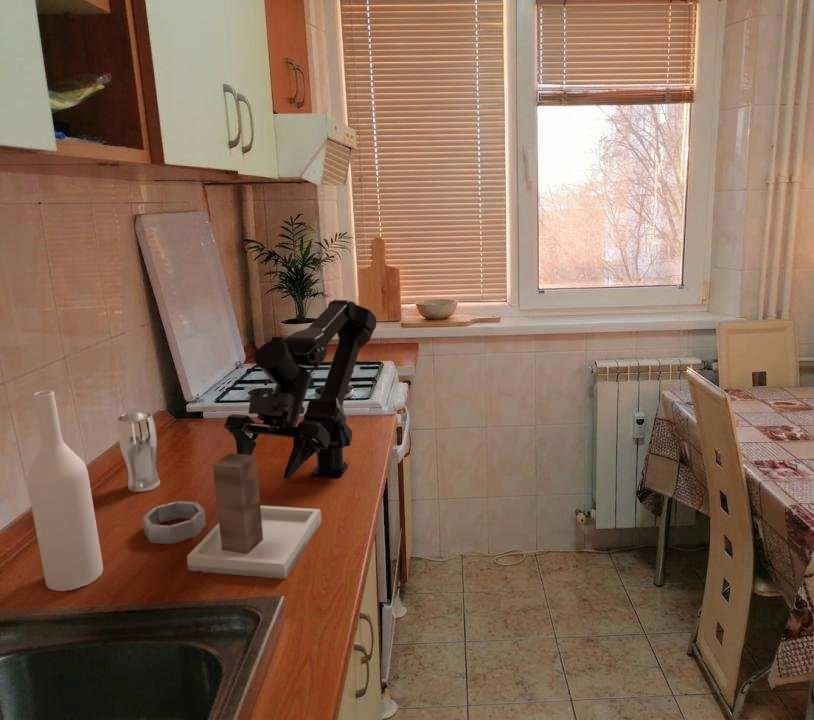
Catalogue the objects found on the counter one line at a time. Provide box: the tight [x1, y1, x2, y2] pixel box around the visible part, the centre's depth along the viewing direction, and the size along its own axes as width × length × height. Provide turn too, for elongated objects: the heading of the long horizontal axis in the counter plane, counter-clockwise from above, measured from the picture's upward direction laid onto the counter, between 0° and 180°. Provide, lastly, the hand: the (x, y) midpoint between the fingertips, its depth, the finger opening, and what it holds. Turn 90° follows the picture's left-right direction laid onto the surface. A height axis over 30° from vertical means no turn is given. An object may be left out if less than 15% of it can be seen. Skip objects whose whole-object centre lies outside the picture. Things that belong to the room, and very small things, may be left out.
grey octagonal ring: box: [142, 500, 207, 545], centre depth 115 cm, size 10×10×3 cm
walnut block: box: [212, 452, 263, 554], centre depth 106 cm, size 5×5×15 cm
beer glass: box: [116, 410, 161, 493], centre depth 132 cm, size 7×7×15 cm
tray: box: [186, 504, 322, 580], centre depth 109 cm, size 18×16×2 cm
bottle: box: [26, 389, 104, 592], centre depth 98 cm, size 8×8×30 cm
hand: (262, 476), depth 113 cm, fingers open, 9 cm apart
